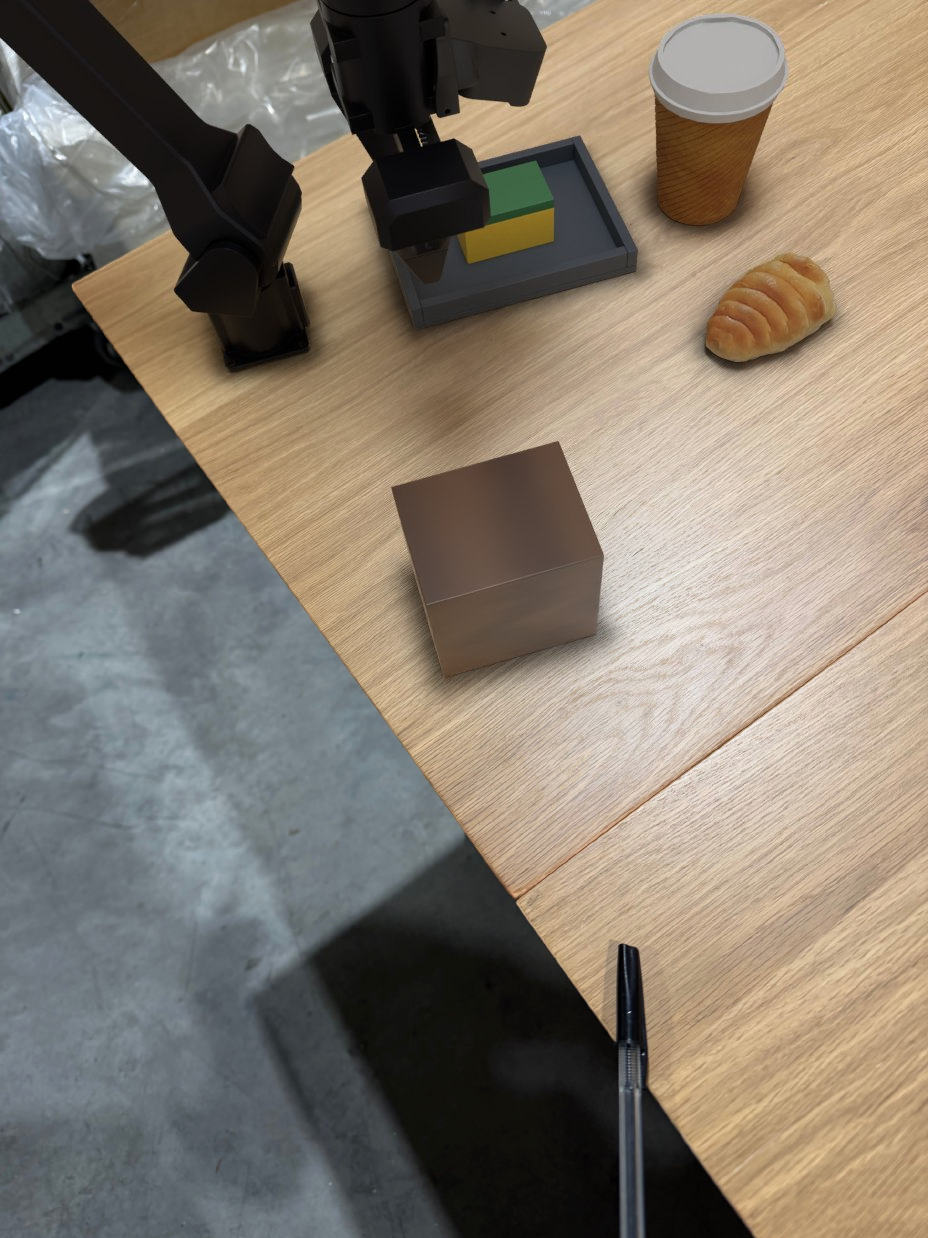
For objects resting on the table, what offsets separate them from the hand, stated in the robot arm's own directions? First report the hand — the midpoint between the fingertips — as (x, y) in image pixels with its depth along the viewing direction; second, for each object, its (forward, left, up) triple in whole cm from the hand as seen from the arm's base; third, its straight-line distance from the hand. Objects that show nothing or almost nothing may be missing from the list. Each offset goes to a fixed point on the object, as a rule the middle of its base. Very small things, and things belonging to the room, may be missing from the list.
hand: (414, 231), depth 62 cm
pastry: (+24, -6, -11) cm, 27 cm away
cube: (-1, -22, -11) cm, 25 cm away
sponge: (+8, +9, -10) cm, 16 cm away
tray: (+8, +9, -11) cm, 16 cm away
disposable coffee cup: (+24, +8, -11) cm, 28 cm away
